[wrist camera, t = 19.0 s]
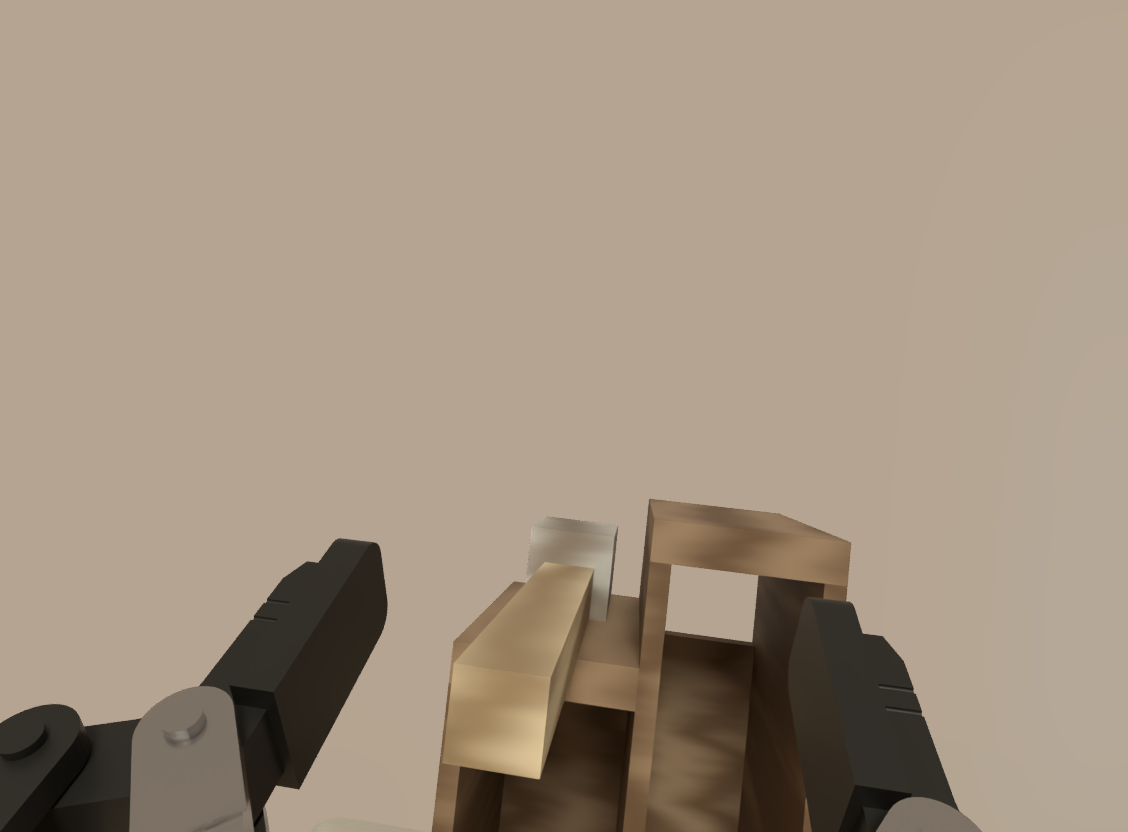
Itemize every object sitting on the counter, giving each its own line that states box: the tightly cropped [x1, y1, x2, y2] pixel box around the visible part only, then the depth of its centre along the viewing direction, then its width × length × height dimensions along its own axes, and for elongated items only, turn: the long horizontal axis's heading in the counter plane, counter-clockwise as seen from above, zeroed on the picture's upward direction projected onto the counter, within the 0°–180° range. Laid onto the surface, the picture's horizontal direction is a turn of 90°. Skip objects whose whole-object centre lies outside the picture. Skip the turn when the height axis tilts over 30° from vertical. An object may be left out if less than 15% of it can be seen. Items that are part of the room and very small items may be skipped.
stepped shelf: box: [432, 499, 851, 832], centre depth 39 cm, size 18×16×32 cm
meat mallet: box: [442, 517, 618, 779], centre depth 34 cm, size 5×27×5 cm, turn 174°
